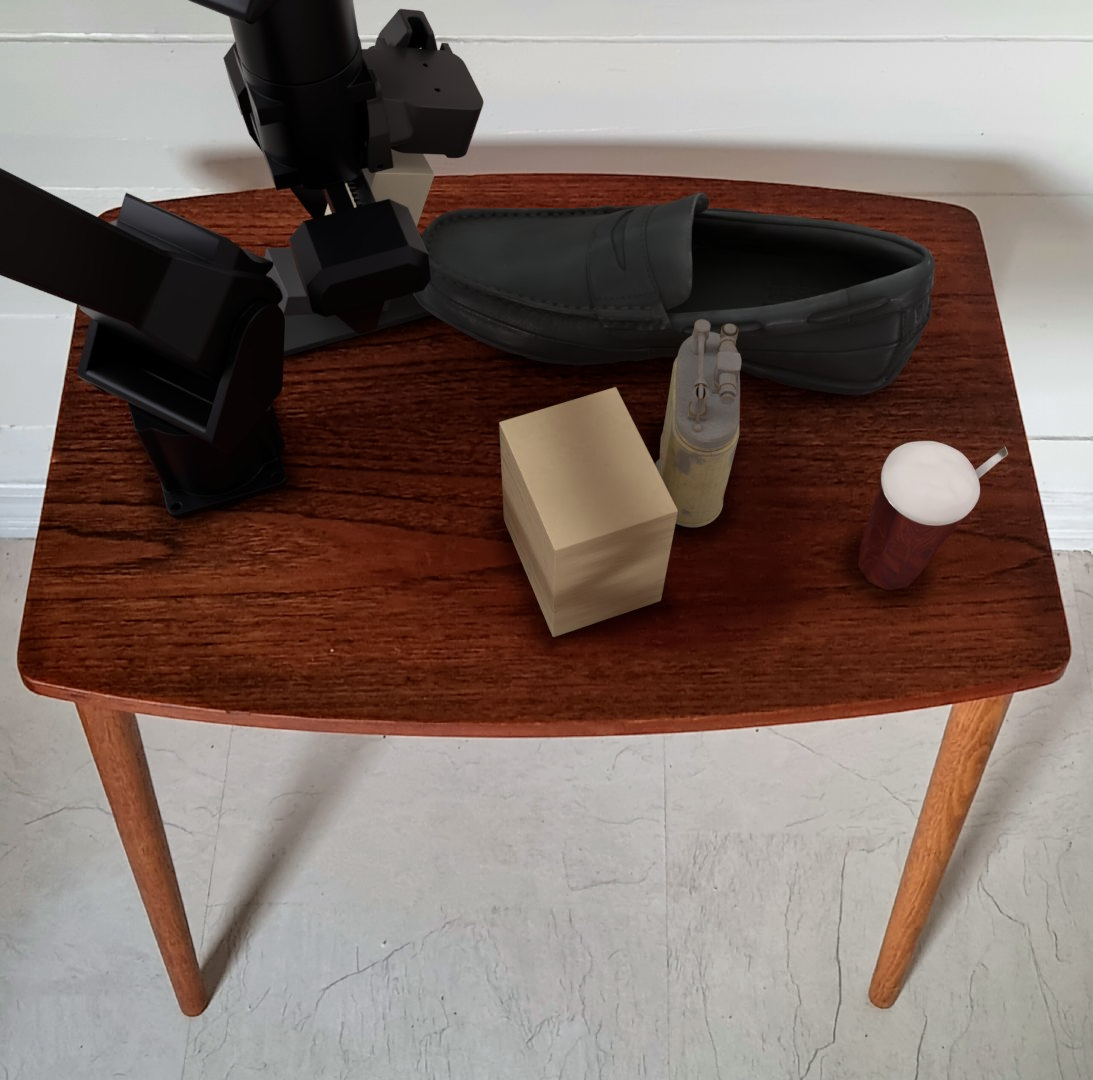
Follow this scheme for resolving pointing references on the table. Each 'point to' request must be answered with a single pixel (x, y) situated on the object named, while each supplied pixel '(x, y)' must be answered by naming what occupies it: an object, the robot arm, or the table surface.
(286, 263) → the white block
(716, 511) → the lighter
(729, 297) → the loafer
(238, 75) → the robot arm
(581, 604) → the stand
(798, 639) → the table surface
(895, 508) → the milkshake
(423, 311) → the shoe mat
